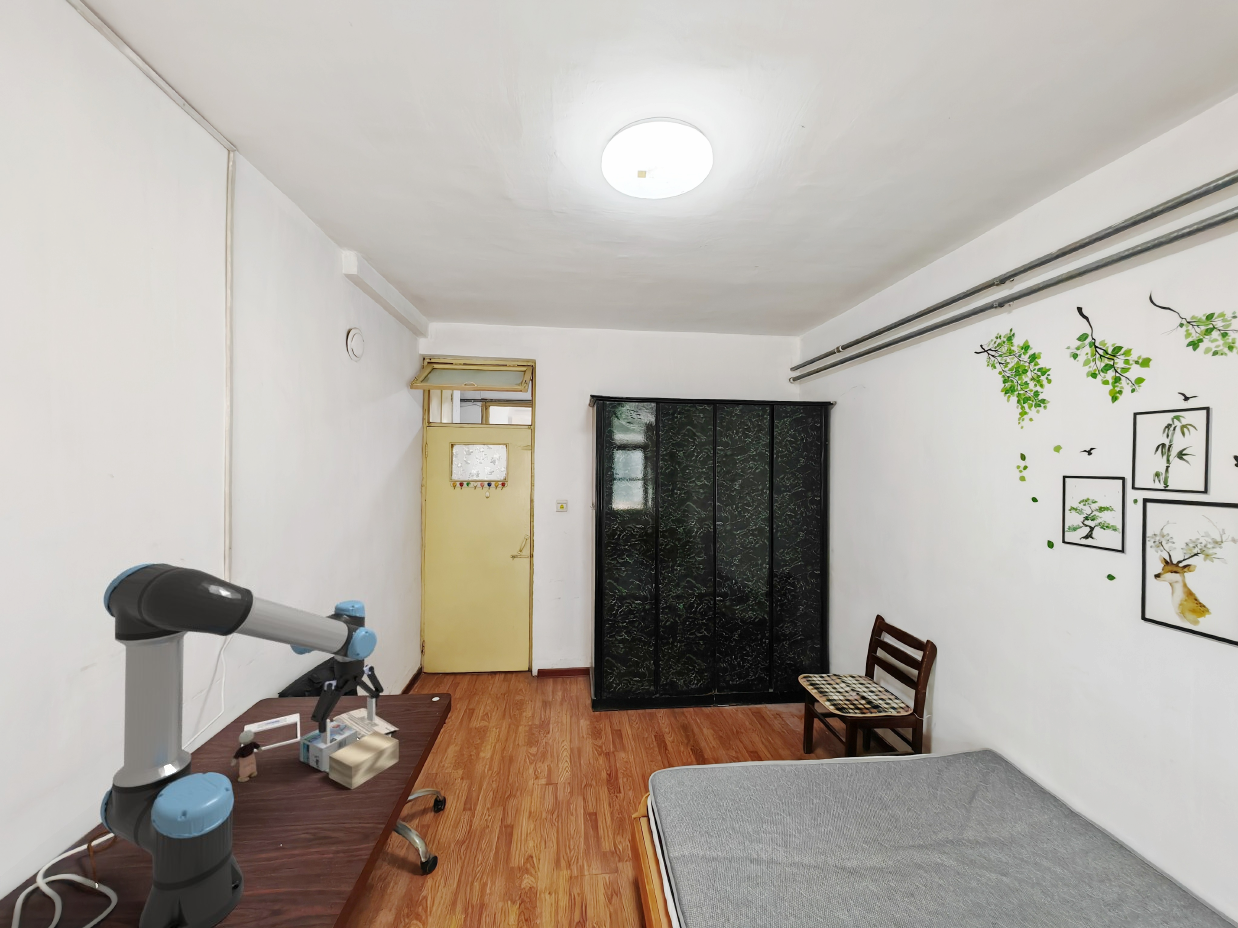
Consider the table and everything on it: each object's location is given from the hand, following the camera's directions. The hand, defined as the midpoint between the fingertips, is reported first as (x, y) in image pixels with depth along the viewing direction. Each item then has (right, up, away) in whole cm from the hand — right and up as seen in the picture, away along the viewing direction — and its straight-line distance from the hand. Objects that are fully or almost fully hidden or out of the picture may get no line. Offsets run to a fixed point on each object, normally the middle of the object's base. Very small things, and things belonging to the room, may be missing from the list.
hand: (349, 730), depth 142 cm
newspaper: (-5, -9, +18) cm, 21 cm away
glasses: (-29, -10, -33) cm, 45 cm away
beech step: (+6, -9, -3) cm, 11 cm away
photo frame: (-31, -9, +14) cm, 35 cm away
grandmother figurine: (-24, -9, -8) cm, 26 cm away
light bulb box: (-2, -5, -1) cm, 6 cm away
